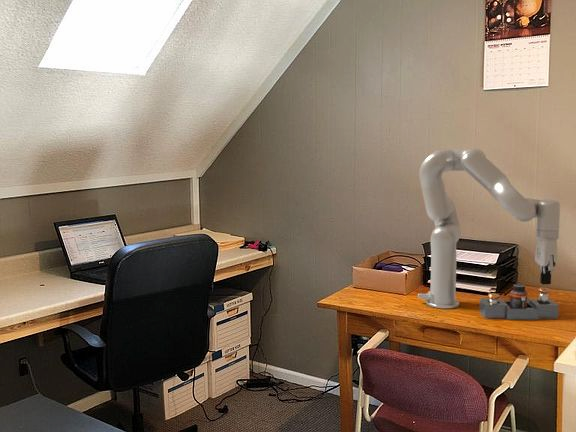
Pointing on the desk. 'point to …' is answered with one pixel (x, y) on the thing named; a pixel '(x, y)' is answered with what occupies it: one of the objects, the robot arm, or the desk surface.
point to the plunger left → (493, 297)
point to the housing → (519, 310)
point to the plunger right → (543, 295)
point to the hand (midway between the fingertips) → (545, 283)
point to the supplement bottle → (518, 296)
